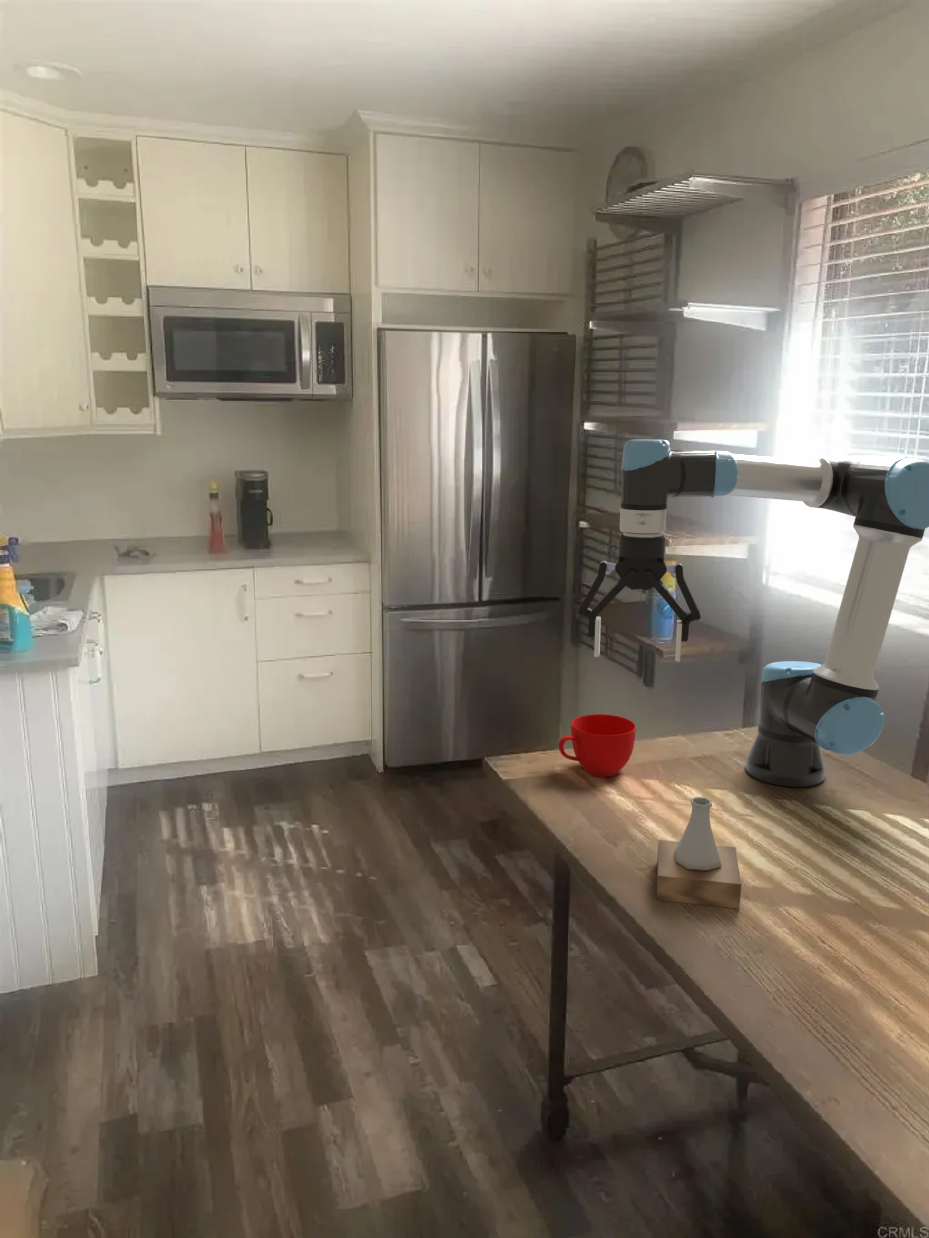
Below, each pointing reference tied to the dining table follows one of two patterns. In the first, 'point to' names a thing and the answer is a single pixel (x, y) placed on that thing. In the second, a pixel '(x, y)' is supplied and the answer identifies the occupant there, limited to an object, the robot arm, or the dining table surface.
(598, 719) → the ceramic cup
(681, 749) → the dining table surface
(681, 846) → the flask
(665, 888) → the plinth
